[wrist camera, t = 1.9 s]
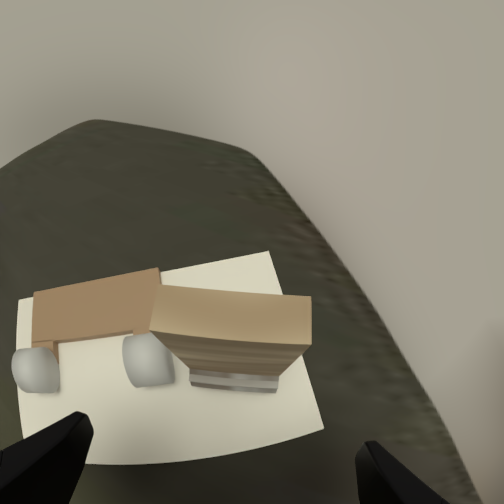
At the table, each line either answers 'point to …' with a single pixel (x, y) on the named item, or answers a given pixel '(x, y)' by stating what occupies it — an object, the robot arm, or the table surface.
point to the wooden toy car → (232, 335)
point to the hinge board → (174, 402)
